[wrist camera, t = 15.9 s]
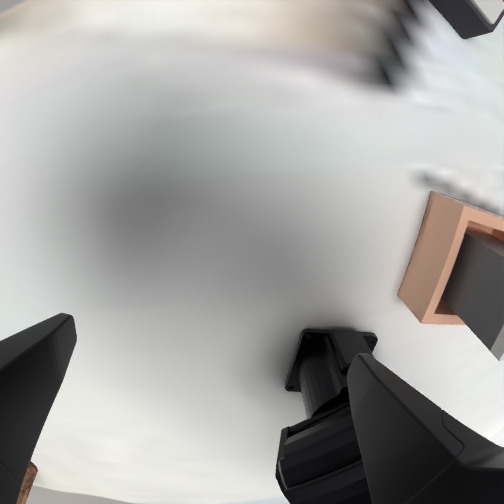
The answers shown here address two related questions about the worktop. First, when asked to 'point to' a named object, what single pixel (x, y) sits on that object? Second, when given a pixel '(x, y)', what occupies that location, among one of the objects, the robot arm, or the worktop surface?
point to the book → (27, 483)
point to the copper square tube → (441, 255)
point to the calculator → (471, 15)
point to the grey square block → (479, 288)
